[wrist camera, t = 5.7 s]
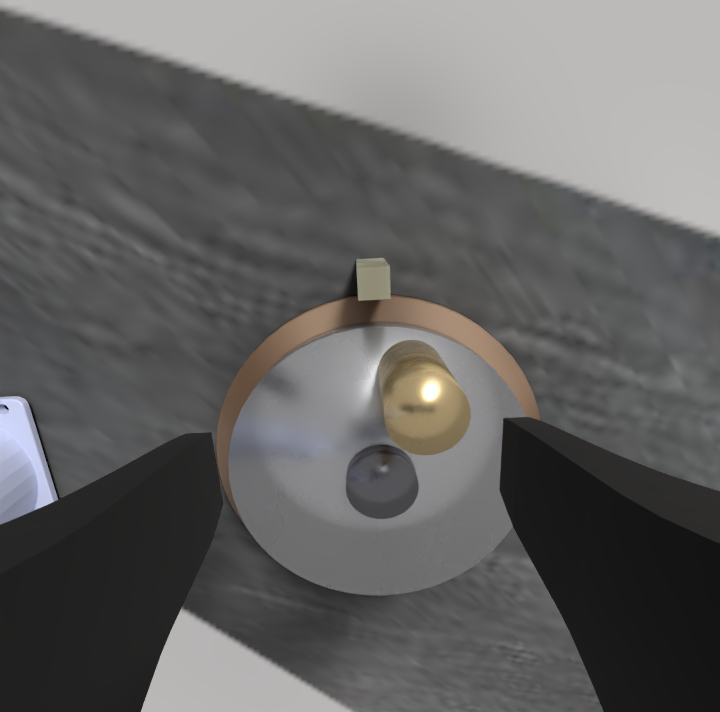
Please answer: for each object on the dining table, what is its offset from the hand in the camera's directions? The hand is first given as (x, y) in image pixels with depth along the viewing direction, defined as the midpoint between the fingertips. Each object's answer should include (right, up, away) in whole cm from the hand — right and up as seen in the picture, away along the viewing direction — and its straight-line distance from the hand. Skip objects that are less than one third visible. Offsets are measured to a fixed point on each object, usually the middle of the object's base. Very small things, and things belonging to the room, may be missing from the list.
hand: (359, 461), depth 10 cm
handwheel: (+1, -3, +10) cm, 11 cm away
